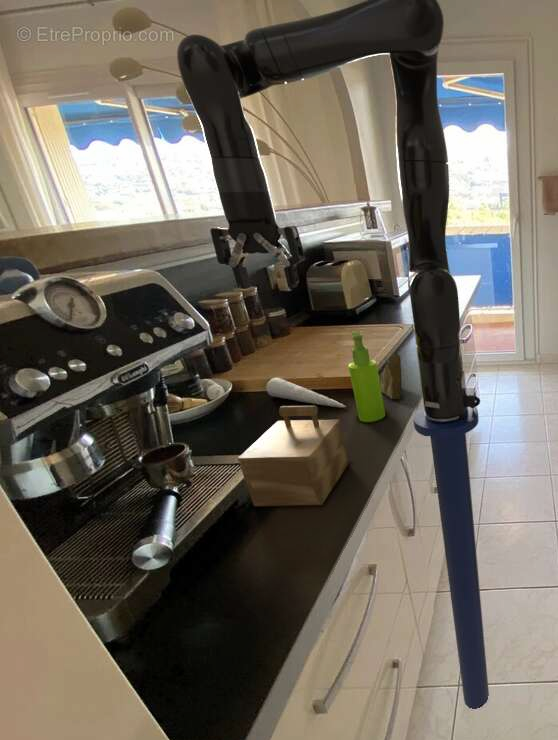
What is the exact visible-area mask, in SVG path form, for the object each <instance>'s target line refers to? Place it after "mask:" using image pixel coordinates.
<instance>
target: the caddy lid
mask: <svg viewBox="0 0 558 740" xmlns="http://www.w3.org/2000/svg"><path fill="white" fill-rule="evenodd" d="M278 414H279V415H280V417H283V420H277V421H276V422H275V423H274V424H272V426H271V427H269V429H267V430H266V431H265V432H264V433H263V434H262V435H261V436H260V437H259V438H258V439H257V440H256V441H255V442H253V443H252V444H251V445H250V446H249V447H248V448H247V449H246V450H245V451H244V452H242V454H240V455H239V456H238V457H237V461H238V463H239V462H275V461H310V460H311V459H312V458H313V457H314V455H315V454H316V453H317V452H318V450H319V449H320V448H321V447H322V445H323V444H324V443H325V442H326V440H327V439H328V438H329V436H330V435H331V434H332V433H333V431H334V430H335V429H336V428H337V426H338V425H339V426H340V424H341V420H340V419H319V418H318V414H319V408H318V406H317V405H282V406H280V407H279V409H278ZM306 416H307V417H311V419H298V420H297V419H296V420H293V419H292V420H291V419H290V417H306Z"/></svg>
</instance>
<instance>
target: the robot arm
mask: <svg viewBox="0 0 558 740" xmlns="http://www.w3.org/2000/svg"><path fill="white" fill-rule="evenodd" d="M444 29H445V20H444V15H443V11H442V7H441V5H440V3H439V1H438V0H364V1H360V2H359V3H356V4H353V5H350V6H348V7H347V6H346V7H345V8H341V9H338V10H334V11H332V12H328V13H327V12H326V13H323V14H319V15H316V16H311V17H307V18H303V19H297V20H291V21H287V22H283V23H277V24H273V25H268V26H267V25H266V26H263V27H258V28H254V29H251V30H249V31H248V32H246V33H245V36H244V38H243V39H241V40H237V41H234V42H230V43H227V44H223V45H222V44H221V45H220V44H219V43H218V42H217V41H215V40H214V39H212V38H210V37H208V36H205V35H203V34H202V35H201V34H189V35H187V36H185V37H183V38H182V39H181V40H180V42H179V44H178V46H177V51H176V60H177V66H178V70H179V73H180V77H181V80H182V82H183V86H184V89H185V90H186V92H187V95H188V98H189V100H190V103H191V104H192V107H193V109H194V111H195V114H196V116H197V118H198V120H199V122H200V125H201V128H202V132H203V137H204V141H205V145H206V148H207V151H208V155H209V158H210V162H211V169H212V170H211V171H212V174H213V179H214V182H215V187H216V189H217V194H218V197H219V200H220V204H221V207H222V211H223V214H224V218H225V220H226V221H227V224H228V227H223V226H219V227H218V226H217V227H216V226H215V227H212V228H210V236H211V240H212V243H213V248H214V251H215V256H216V260H217V262H218V264H219V265H226V266H229V267H230V268H231V269H232V272H233V273H232V274H233V276H234V279H235V282H236V285H237V286H238V287H239V288H240V289H241V290H247V289H250V288H251V287H252V284H251V280H250V276H249V273H248V270H247V267H246V266H247V265H246V266H244V264H245V262H246V260H247V258H248V257H249V255H252V254H258V253H259V254H270V255H271V256H273V257H274V258H276V259H277V260H278V261H279V262H280V264H282V265H283V271H284V276H285V280H286V285H287V287H288V288H289V289H294V288H296V287H298V284H299V283H300V278H299V277H300V276H299V273H298V269H297V265H298V264H299V263H302V262H304V261H305V260H306V255H305V251H304V248H303V244H302V241H301V236H300V233H299V230H298V227H296V226H295V225H288V226H284V227H280V226H279V225H278V222H277V216H276V211H275V207H274V204H273V199H272V194H271V190H270V186H269V182H268V177H267V175H266V172H265V169H264V166H263V164H262V159H261V156H260V151H259V147H258V143H257V139H256V136H255V133H254V129H253V127H252V124H251V123H250V122H249V120H248V119H247V117H246V115H245V113H244V108H243V105H242V101H241V100H242V99H244V98H247V97H249V96H252V95H255V94H258V93H260V92H263V91H265V90H267V89H269V88H271V87H274V86H281V85H282V86H283V85H286V84H292V83H296V82H300V81H303V80H309V79H312V78H316V77H319V76H322V75H325V74H327V73H330V72H332V71H334V70H336V69H339V68H340V67H343V66H345V65H347V64H350V63H352V62H356V61H358V60H361V59H365V58H369V57H373V56H378V55H388V56H389V61H390V66H391V75H392V78H393V85H394V86H393V87H394V94H395V95H394V96H395V156H396V157H395V159H396V169H397V180H398V189H399V194H400V202H401V207H402V212H403V218H404V222H405V226H406V231H407V239H408V278H407V288H408V292H409V298H410V305H411V312H412V320H413V328H414V329H413V331H414V339H415V347H416V354H417V362H418V370H419V379H420V386H421V393H422V400H423V407H424V410H425V418H426V419H427V420H428V421H430V422H433V423H451V422H455V421H458V420H464V419H465V416H466V413H467V407H471V408H474V407H476V408H477V407H478V406H479V405H480V404H481V398H479V397H478V396H477V392H476V387H466V374H465V371H464V369H463V359H462V350H461V349H462V347H461V337H460V334H461V317H460V316H461V315H460V303H459V291H458V286H457V282H456V280H455V279H454V277H453V275H451V271H450V265H449V260H448V253H447V243H446V242H447V241H446V232H447V224H448V223H447V221H448V213H449V203H450V202H449V201H450V174H449V173H450V170H449V156H448V151H447V150H448V149H447V144H446V137H445V132H444V127H443V123H442V122H443V121H442V118H441V114H440V108H439V101H438V58H439V57H438V56H439V50H440V49H439V48H440V45H441V44H442V43H441V42H442V40H443V36H444V31H445V30H444ZM281 237H283V239H284V240H285V241H286V244H287V245H288V246H287V247H288V249H289V251H288V249H287V248H286V247H285V246H284V245H283V244H282V242H281V241H279V240H280V239H281ZM230 238H231V239H232V240H233V241H234V242H235V244H234V246H233V249H231V246H230Z"/></svg>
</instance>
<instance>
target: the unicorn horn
mask: <svg viewBox="0 0 558 740" xmlns="http://www.w3.org/2000/svg"><path fill="white" fill-rule="evenodd" d="M265 389H266V392H267V394H268V395H269V396H271V397H274V398H280V399H285V400H287V399H288V400H290V401H291V400H292V401H297V402H302V403H307V404H313V405H319V406H320V405H321V406H326V407H334V408H347V406H346V405H344V403H341V402H339V401H337V400H334V399H332V398H329V397H328V396H325V395H323V394H320V393H318V392H316V391H313V390H311V389H308V388H306V387H303V386H300V385H297V384H295V383H293V382H290V381H287V380H285V379H283V378H281V377H274V378H271V379H270V380H269V381H267V383H266V387H265Z"/></svg>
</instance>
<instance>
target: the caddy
mask: <svg viewBox="0 0 558 740" xmlns="http://www.w3.org/2000/svg"><path fill="white" fill-rule="evenodd" d="M348 462H349V461H348V457H347V454H346V449H345V445H344V440H343V435H342V431H341V427H340V424H339V425H338V426H337V428H336V429H335V430H334V431H333V433H332V434H331V435H330V436H329V438H328V439H327V440H326V442H325V443H324V444H323V445H322V447H321V448H320V449H319V450H318V452H317V453H316V454H315V455H314V457H313V458H312V459H311V460H310V461H275V462H239V461H238V464H239V467H240V470H241V473H242V475H243V479H244V481H245V485H246V488H247V491H248V493H249V496H250V498H251V502H252V504H253V507H282V506H283V507H284V506H285V507H287V506H289V507H290V506H322V505H324V502H326V499H327V498H328V496H329V494H330V493H331V491H332V490H333V488H334V487H335V485H336V484H337V482H338V480H339V479H340V478H341V476H342V474H343V473H344V471H346V468H347V467H348V465H349V463H348Z"/></svg>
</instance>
